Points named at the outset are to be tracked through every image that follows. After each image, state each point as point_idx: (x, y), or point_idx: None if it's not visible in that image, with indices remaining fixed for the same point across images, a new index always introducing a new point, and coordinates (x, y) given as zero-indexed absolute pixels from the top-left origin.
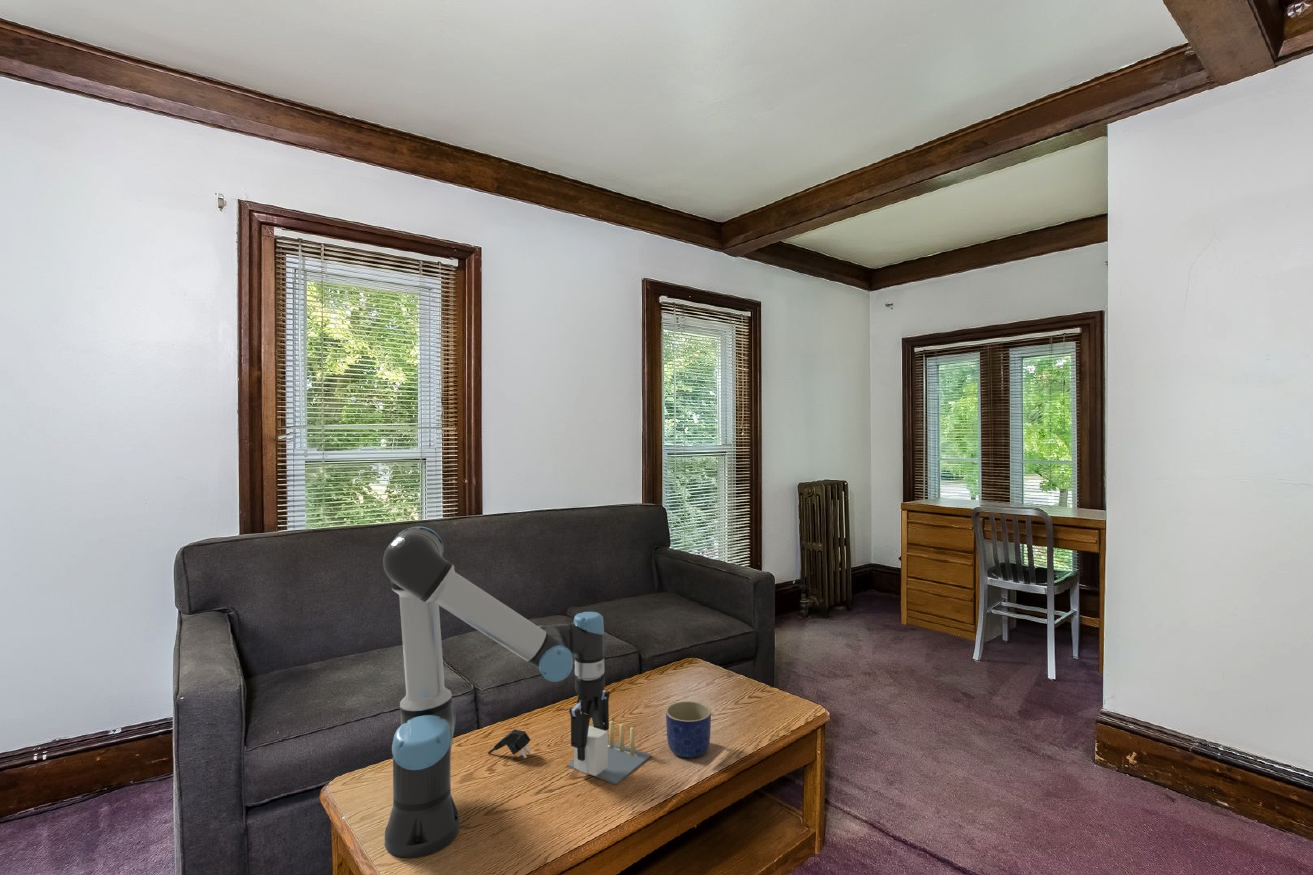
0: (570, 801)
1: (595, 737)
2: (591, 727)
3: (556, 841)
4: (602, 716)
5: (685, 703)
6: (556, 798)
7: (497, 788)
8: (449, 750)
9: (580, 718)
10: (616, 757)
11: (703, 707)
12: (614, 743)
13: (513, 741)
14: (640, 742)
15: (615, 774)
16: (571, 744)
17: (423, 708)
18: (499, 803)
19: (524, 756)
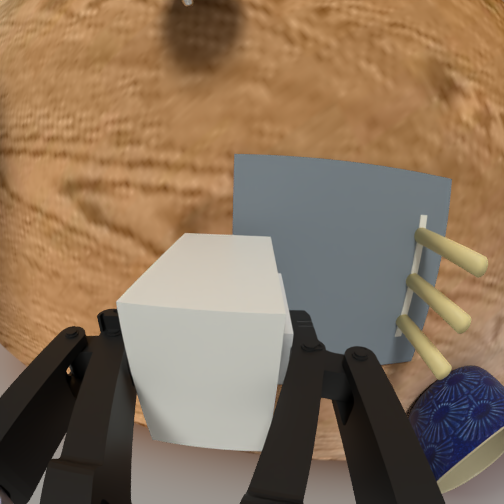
0: (95, 300)
1: (170, 434)
2: (263, 370)
3: (24, 342)
4: (355, 439)
5: None
6: (80, 257)
7: (42, 81)
8: None
9: (23, 492)
10: (368, 290)
11: (500, 448)
12: (441, 229)
13: None
14: (465, 291)
15: None
16: (61, 335)
17: None
18: (9, 145)
19: (182, 2)
